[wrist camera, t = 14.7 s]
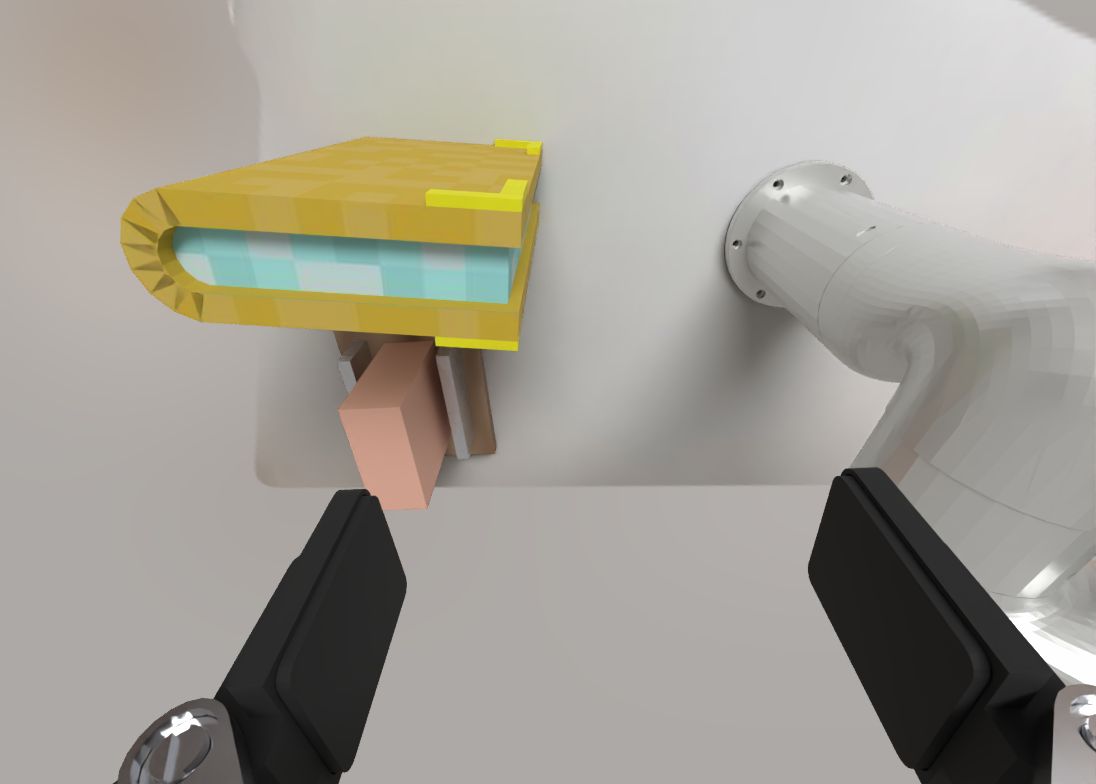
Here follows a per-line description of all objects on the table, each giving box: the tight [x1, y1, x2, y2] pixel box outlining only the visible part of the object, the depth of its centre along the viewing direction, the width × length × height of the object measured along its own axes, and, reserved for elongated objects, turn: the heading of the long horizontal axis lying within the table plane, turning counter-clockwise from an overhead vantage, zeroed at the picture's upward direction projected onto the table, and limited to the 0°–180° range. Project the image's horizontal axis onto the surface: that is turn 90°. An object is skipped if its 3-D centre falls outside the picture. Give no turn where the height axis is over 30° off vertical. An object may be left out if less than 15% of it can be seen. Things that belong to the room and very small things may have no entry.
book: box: [120, 137, 542, 351], centre depth 32 cm, size 17×7×25 cm, turn 87°
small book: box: [338, 341, 452, 510], centre depth 47 cm, size 5×11×12 cm, turn 4°
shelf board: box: [333, 330, 496, 456], centre depth 53 cm, size 14×18×2 cm
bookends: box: [337, 340, 475, 459], centre depth 50 cm, size 10×12×4 cm
